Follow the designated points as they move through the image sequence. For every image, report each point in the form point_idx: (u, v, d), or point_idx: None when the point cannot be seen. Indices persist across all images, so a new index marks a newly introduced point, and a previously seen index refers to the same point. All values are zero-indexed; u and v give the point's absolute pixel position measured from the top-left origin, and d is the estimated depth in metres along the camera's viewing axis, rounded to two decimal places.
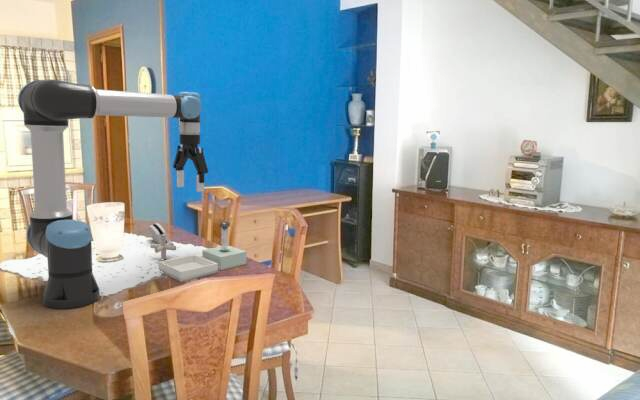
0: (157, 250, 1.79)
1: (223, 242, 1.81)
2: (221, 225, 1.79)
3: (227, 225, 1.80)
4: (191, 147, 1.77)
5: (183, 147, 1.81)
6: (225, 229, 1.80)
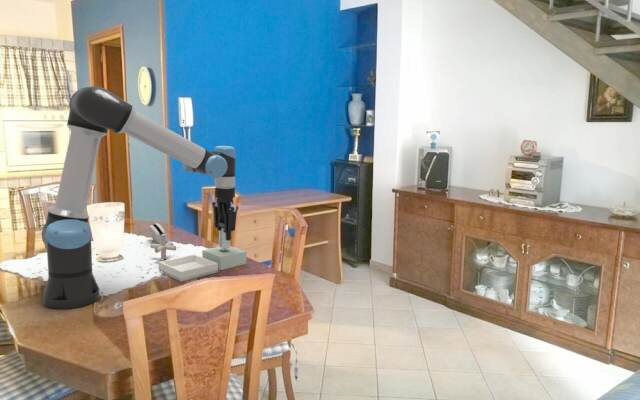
0: (157, 250, 1.79)
1: None
2: (221, 225, 1.79)
3: None
4: (227, 201, 1.77)
5: (217, 199, 1.81)
6: None
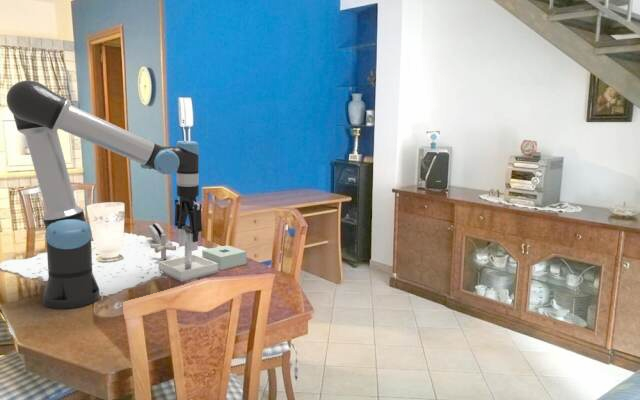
0: (157, 250, 1.79)
1: (186, 246, 1.69)
2: (184, 228, 1.67)
3: (190, 228, 1.68)
4: (189, 200, 1.65)
5: (180, 198, 1.69)
6: (188, 233, 1.68)
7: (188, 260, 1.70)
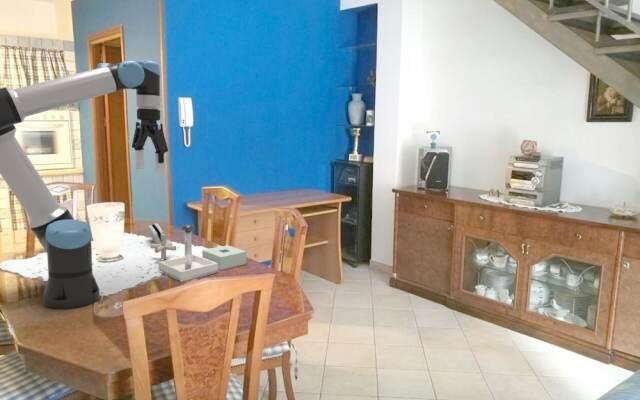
0: (157, 250, 1.79)
1: (186, 246, 1.69)
2: (184, 228, 1.67)
3: (190, 228, 1.68)
4: (149, 123, 1.58)
5: (141, 123, 1.62)
6: (188, 233, 1.68)
7: (188, 260, 1.70)
